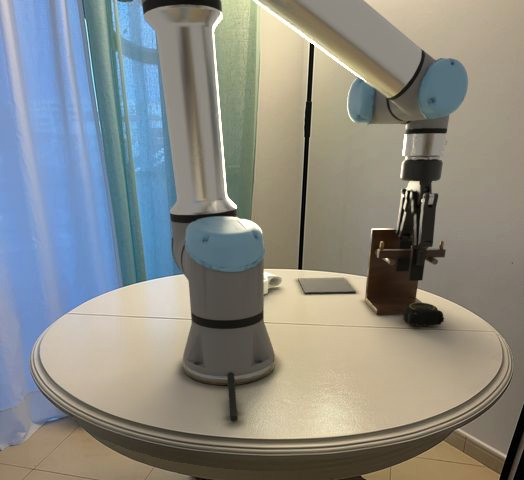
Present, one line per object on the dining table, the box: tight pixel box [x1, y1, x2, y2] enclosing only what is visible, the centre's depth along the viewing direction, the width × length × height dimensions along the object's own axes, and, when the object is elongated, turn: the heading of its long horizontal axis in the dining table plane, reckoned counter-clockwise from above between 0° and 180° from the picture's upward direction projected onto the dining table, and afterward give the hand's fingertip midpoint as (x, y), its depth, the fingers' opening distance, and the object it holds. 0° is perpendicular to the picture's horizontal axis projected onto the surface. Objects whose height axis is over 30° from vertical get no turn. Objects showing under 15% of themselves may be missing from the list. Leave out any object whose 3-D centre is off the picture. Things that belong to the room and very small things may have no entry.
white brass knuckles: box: [264, 271, 283, 295], centre depth 121 cm, size 3×18×15 cm
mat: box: [297, 277, 357, 295], centre depth 121 cm, size 14×13×1 cm
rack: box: [364, 228, 439, 315], centre depth 100 cm, size 12×12×17 cm
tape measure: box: [403, 302, 445, 328], centre depth 94 cm, size 7×7×4 cm
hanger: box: [377, 240, 447, 259], centre depth 94 cm, size 2×14×3 cm, turn 93°
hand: (408, 275), depth 97 cm, fingers open, 7 cm apart
